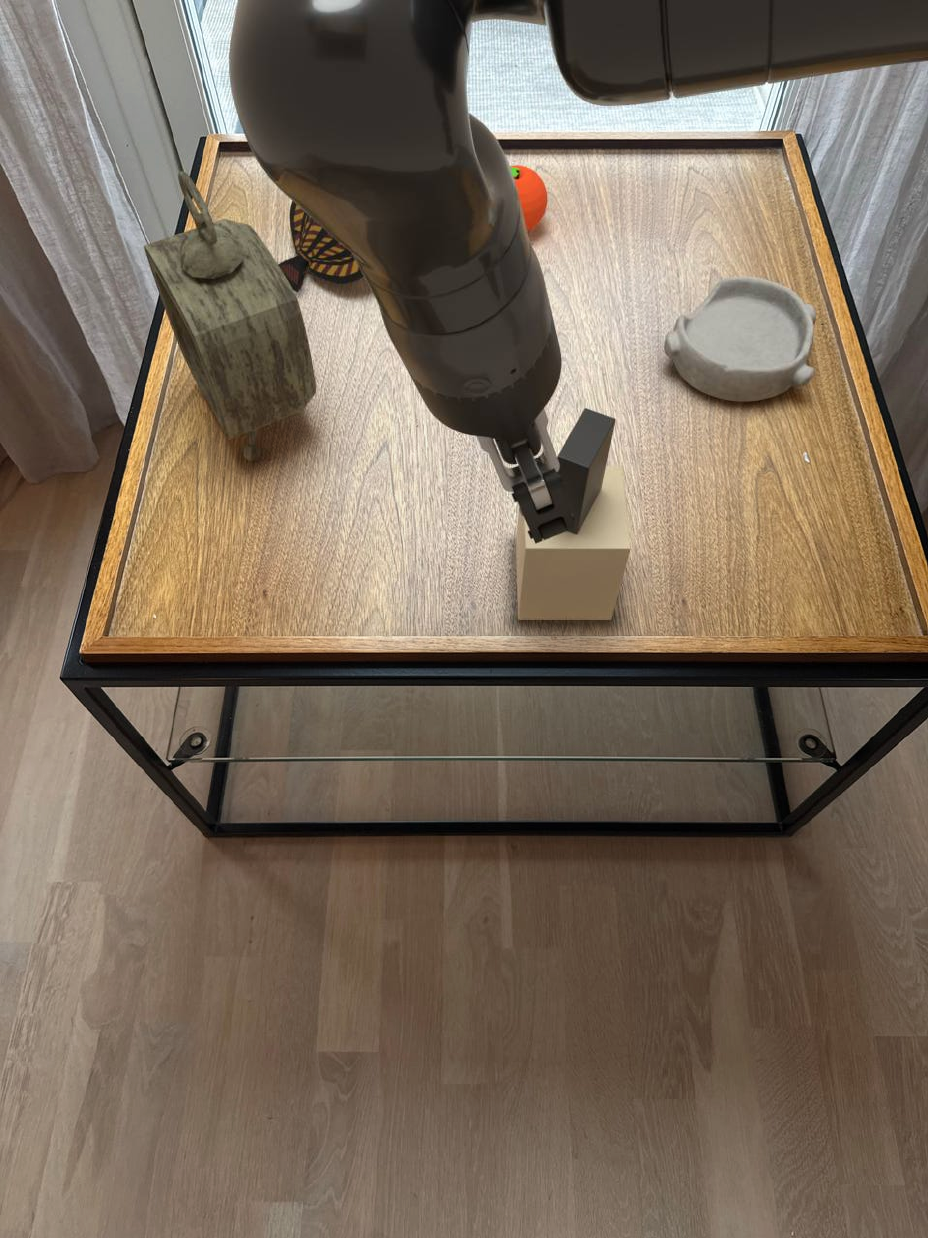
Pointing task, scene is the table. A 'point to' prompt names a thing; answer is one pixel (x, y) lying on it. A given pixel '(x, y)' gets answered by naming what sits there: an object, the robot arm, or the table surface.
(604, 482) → the stand
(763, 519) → the table surface
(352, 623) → the table surface
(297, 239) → the decorative fish sculpture
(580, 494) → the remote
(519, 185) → the clementine
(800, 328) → the dish
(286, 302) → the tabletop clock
